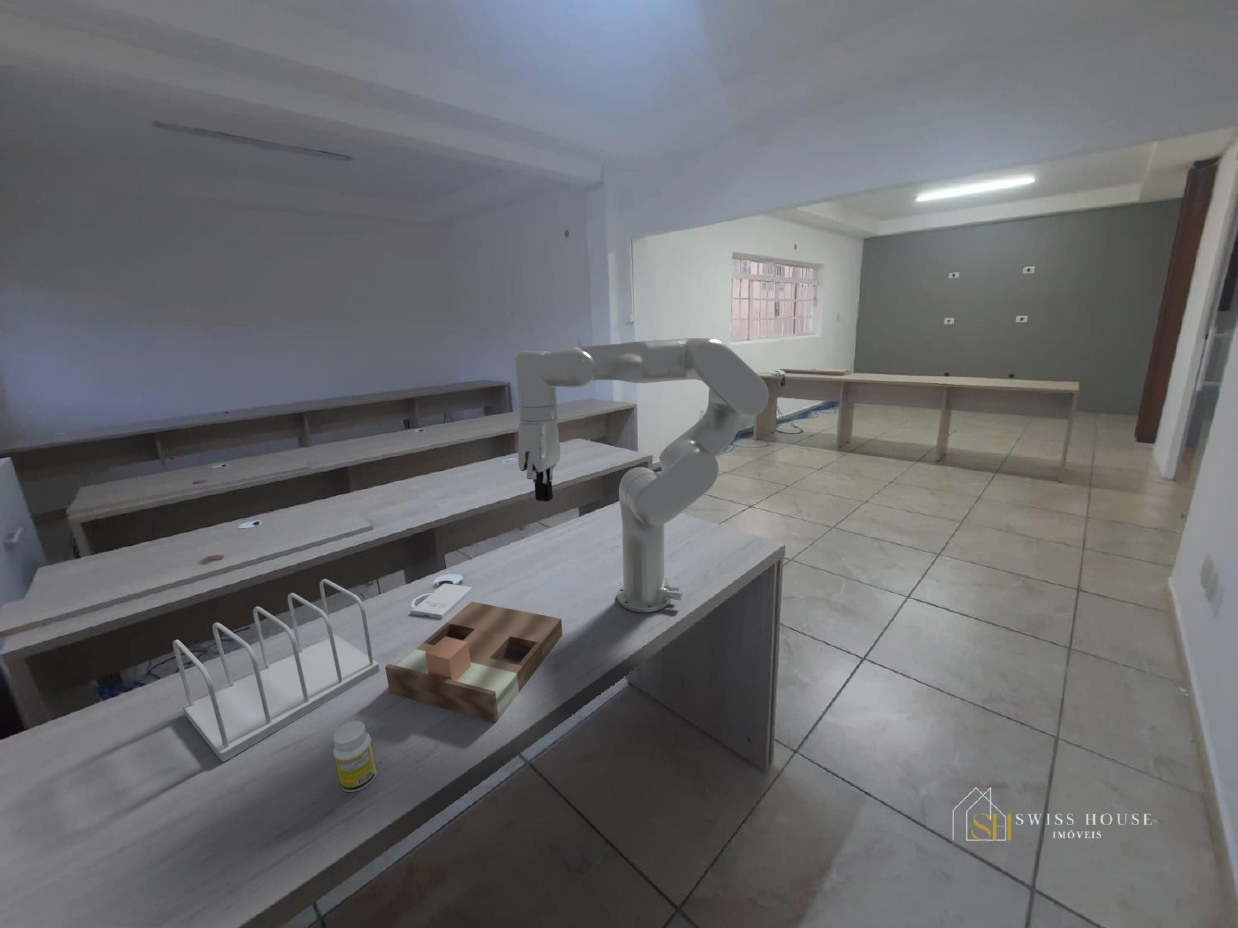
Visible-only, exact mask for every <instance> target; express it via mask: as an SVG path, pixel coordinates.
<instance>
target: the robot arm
mask: <svg viewBox="0 0 1238 928" xmlns="http://www.w3.org/2000/svg"><path fill="white" fill-rule="evenodd" d="M514 361H515V362H514V363H515V375H516V376H515V377H516V386H517V387H516V388H517V401H518V402H517V403H518V412H519V413H518V414H519V425H518V433H517V455H518V456H517V457H518V469H519V470H520V471H521V472H525V471H526V479H527V480H532V482H533V484H534V495H535V497H534V498H535V500H536V501H539V502H550V501H551V500H553V498H554V496H553V495H554V494H553V478H554V477H553V475H554V473H553V472H554V469H555V468H556V466H557V464H558V462H559V461H560V458H561V446H560V445H561V444H560V435H559V427H558V423H557V421H558V407H557V406H558V404H557V389H556V388H558V387H560V388H569V389H570V388H571V389H579V388H583V387H585V386H586V387H587V385H589V384H590V383H591V382H592V381H595V382H596V381H621V382H622V381H623V382H626V383H633V384H651V383H658V382H659V383H660V382H674V381H675V382H676V381H685V380H686V381H687V380H697V381H701V382H703V384H705V386H707V387H708V402H707V408H706V410H705V412H704V414H703V416H702V417H701V418H700V419H699V420H698V421H697V422H696V423H695V424H694V425H692V426H691V427H690V428H689V429H688V430H686V431H685V432H684V433H683V434H681V435H680V436H679V437H677V438H676V439H675V440H673V441H672V442H670V443H669V444H668V445H667V446H666V447H664V449H663V450H662V452H661V454H660V456H659V465H660V468H661V470H662V472H661V473H660V474H658V473H657V472H655V471H654V470H652V469H650V468H648V467H644V466H637V467H633V468H631V469H629V470H627V472H625V473H624V474H623V476H622V477H621V480H620V482H619V487H618V495H619V496H618V499H619V507H620V515H621V530H622V531H621V532H622V570H623V571H622V575H623V577H622V578H623V583H622V584H623V586H621V587H620V588H619V589H618V590H617V593H616V597H617V598H616V599H617V602H618V604H619V605H620V606H621V607H623V608H624V609H626V610H628V611H632V612H636V613H654V612H656V611H657V612H658V611H660V610H662V609H664V608H666V607H667V606H668V605H669V604H670V602H671V599H672V600H676V601H681V602H682V600H683V592H682V591H680V586H674V585H673V586H672V585H670V584H668V583H669V582H668V579H669V578H666V577H665V524H667V523H669V522H670V521H672V520H673V519H675V518H676V517H677V516H679V515H680V514H682V512H684V511H685V510H686V509H688V508H689V507H690V506H691V505H692V504H694V503H696V502H697V501H698V500H700V498H702V497H703V496H704V495H705V494H706V493H707V492H709V490H710V489H711V488H712V487H713V485H714V484H715V483H716V481H717V479H718V476H719V463H718V460H717V457H718V456H719V455H720V454H721V453H722V452H723V451H724V450H726V449H727V448H728V447H729V446H730V444H731V443H732V442H733V441H734V440H735V437H736V435H737V432H738V429H739V426H740V421H741V417H742V418H750V417H752V418H753V417H755V416H757V415H759V414H761V413H762V412H763V411H764V410H765V408H766V407H767V405H768V402H769V398H770V396H769V395H770V393H769V388H768V386H767V384H766V382H765V380H763V378H762V377H761V376H759V374H758V373H757V372H755V370H754V369H752V367H750V366H749V365H748V364H747V363H746V362H745V361H743V359H742V358H741V357H740V356H739V355H737V354H736V353H735V352H734V350H732V349H731V348H730V347H729V346H727V345H726V344H725V343H724V342H722V341H720V340H718V339H714V338H702V337H689V338H673V339H671V338H670V339H656V340H655V339H654V340H639V341H629V342H622V343H614V344H611V343H610V344H599V345H598V344H596V345H582V346H579V345H578V346H567V347H566V346H565V347H564V348H561V349H559V350H558V351H554V352H553V351H552V352H551V351H548V350H543V349H542V350H538V349H537V350H524V351H520V352H518V353H517V354H516V355H515V359H514Z"/></svg>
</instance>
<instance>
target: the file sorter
mask: <svg viewBox="0 0 1238 928" xmlns="http://www.w3.org/2000/svg"><path fill="white" fill-rule="evenodd" d="M324 584H327V585H328V586H330V587H331V588H334V589H335V590H337V591H338V592H339V591H340V592H341V593H343V594H345V595H346V596H348V597H351V598H352V599H353V600H355V601H356V603H357V604H358V607H359V609H360V613H361V619H362V620H361V621H362V624H363V625H362V626H363V631H364V638H365V645H366V650H367V652H366V653H367V654H366V653H364V652H362V651H361V650H359V649H358V648H357V647H355V646H354V645H352V644H350V643H349V642H347V641H346V640H345V639H343V638H341V637H340V636H339V635H337V634H336V633H334V632H333V626H332V624H331V622H330V621H331V620H330V616H329V611H328V605H327V600H326V599H327V598H326V594H325V588H324ZM319 592H320V596H321V603H322V607H323V609H321V608H319V607H318V606H316V605H314V604H313V603H311V602H310V601H308V600H306V599H305V598H303V597H301V596H300V595H298V594H296V593H294V592H291V593H289V594H288V595H287V604H288V608H289V614H290V618H291V623H292V626H293V631H292V630H291V628H290V627H289V626H288V625H287V624H285V623H284V622H283V621H281V620H280V619H279V618H277V617H276V616H274V615H273V614H271V613H270V612H268V611H267V610H265V609H264V608H262V607H260V606H255V607H254V608H253V609H252V614H253V615H252V616H253V620H254V624H255V625H254V626H255V628H256V633H257V637H258V641H259V642H258V643H259V645H260V651H261V654H262V658H263V661H264V666H261V667H259V663H258V659H257V656H256V654H255V652H254V650H253V648H252V647H251V646H250V645H249V644H248V642H246V641H245V640H243V638H241V637H240V636H238V635H237V634H235V633H234V632H232V630H230V629H228V628H227V627H226V626H225V625H223V624H222V623H220V622H214V623H213V624H212V633H213V637H214V639H215V640H214V641H215V643H216V646H217V649H218V653H219V656H220V660H221V662H222V666H223V669H224V673H225V677H226V679H227V682H228V683H227V684H225V685H223V686H221V687H219V688H217V689H215V688H214V684H213V682H212V679H211V676H210V674H209V672H208V670H207V669H206V667H205V665H203V663H202V662H201V661H200V660H199V659H198V658H197V657H196V656H195V655H194V654H193V653H192V652H191V651H190V649H188V647H186V645H184V643H182V641H180V640H179V639H176V640H173V641H172V648H173V652H174V655H175V660H176V663H177V667H178V669H179V671H178V672H179V673H180V676H181V677H180V678H181V681H182V683H183V688H184V691H185V695H186V699H187V702H188V703H186V704H184V705H183V706H182V709H183V712H184V713H183V714H184V716H185V717H186V718H187V719H188V721H189V723H191V724H192V726H193V727H194V728H195V730H196V731H197V732H198V733H199V735H200V736H201V737H202V738H203V739H204V740H205V742H206V744H208V746H209V747H210V748H211V749H212V751H213V752H214V754H216V756H217V757H218V759H219V760H220V761H221V762H222V763H223V762H226V761H228V760H230V759H232V758H233V757H235V756H237V755H238V754H240V753H242V752H243V751H245V750H247V749H249V748H250V747H252V746H254V745H256V744H257V743H259V742H260V741H262V740H264V739H266V738H267V737H269V736H271V735H272V734H274V733H276V732H278V731H279V730H281V729H282V728H284V727H286V726H288V725H290V724H291V723H293V722H295V721H297V720H298V719H300V718H301V717H303V716H305V715H307V714H309V713H310V712H312V711H314V710H316V709H317V708H319V707H320V706H322V705H324V704H326V703H328V702H329V701H331V700H332V699H334V698H336V697H337V696H339V695H341V694H342V693H344V692H346V691H348V690H349V689H351V688H353V687H355V686H356V685H358V684H360V683H361V682H363V681H365V680H366V679H368V678H370V677H371V676H373V675H374V674H376V673H378V672H380V669H381V668H380V664H379V662H378V661H376V660H374V659H373V652H372V646H371V640H370V633H369V626H368V620H367V613H366V609H365V606H364V603H363V601H362V600H361V598H360V597H359V596H358V595H356V594H354V593H353V592H351V591H349V590H347V589H345V588H343V587H342V586H340V585H338V584H337V583H334V582H332V581H331V580H329V579H327V578H323V579H321V580H320V582H319ZM292 598H293V599H294V600H297V602H300V603H301V604H303V605H304V606H305V607H308V608H309V609H311V610H312V611H314V612H315V613H318V614H319V615H320V616H321V617H322V618H323V620H324V623H325V625H326V629H327V634H328V635H326V636H324V637H322V638H320V639H318V640H316V641H314V642H312V643H310V644H308V645H305V646H304V647H302V646H303V645H302V643H301V639H300V634H299V629H298V624H297V618H296V616H295V610H294V605H293V600H292ZM258 613H260V614H261V615H263V616H265V617H266V618H268V619H269V620H270V621H272V622H273V623H275V624H276V625H277V626H279V627H280V628H282V629H283V630H284V631H285V632H286V633H287V636H288V638H289V640H290V643H291V647H292V652H291V653H289V654H287V655H285V656H283V657H281V658H278V659H277V660H274V661H272V662H270V663H269V659H268V654H267V651H266V650H267V649H266V645H265V641H264V637H263V632H262V629H261V625H260V619H259V615H258ZM218 629H219V630H218ZM219 631H221V632H223V633H224V634H225V635H227V636H228V637H230V638H231V639H232V640H234V641H235V642H236V643H238V644H239V645H240V646H242V647H243V648H244V649H245V650H246V652H247V653H248V655H249V658H250V660H251V663H252V666H253V670H254V671H252V672H250V673H247V674H246V675H243V676H242V677H240V678H237V679H236V680H233V678H232V675H231V672H230V669H229V665H228V660H227V657H226V655H225V652H224V648H223V645H222V640H221V637H220V634H219ZM293 632H294V633H293ZM180 651H181V652H182V653H183V654H184V655H185V656H186V657H187V658H188V659H189V660H190V661H191V663H193V665H194V666H196V668H197V669H199V671H200V672H201V674H202V676H203V678H204V681H205V683H206V686H207V689H208V693H207V694H205V695H202V696H201V697H199V698H196V699H194V700H193V697H192V692H191V688H190V685H189V682H188V677H187V674H186V670H185V667H184V663H183V660H182V656H181V653H180Z"/></svg>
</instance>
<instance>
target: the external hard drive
mask: <svg viewBox="0 0 1238 928" xmlns="http://www.w3.org/2000/svg"><path fill="white" fill-rule="evenodd" d="M472 592H473V587H471V586H465V585H459V584H451V583H443V584H442V585H440V586H439V587H438V588H437V589H435V591H433V592H432V593H430V594H429V595H428V596H427V597H426V598H424V600H422V601H421V602H420V603H418V604H417V605H416V606H415V607H414V608H413V609H411V610H410V614H411V615H414V616H415V615H416V616H419V617H422V616H423V617H429V618H434V619H440V620H442V619H444V618H445V617H446V616H447V615H448V614H449V613H451V611H453V610H454V609H455V607H457V606H458V605H459V604H460V603H462V602H463V600H464V599H465V598H467V597H468V596H469V595H470V594H471V593H472Z"/></svg>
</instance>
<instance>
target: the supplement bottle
mask: <svg viewBox="0 0 1238 928" xmlns="http://www.w3.org/2000/svg"><path fill="white" fill-rule="evenodd" d="M332 739H333V746H334V748H333V758H334V759H333V760H334V763H335V765H336V766H335V767H336V772H337V774H338V778H339V779H338V780H339V782H340V787H341V789H342V790H343V791H344V792H347V793H348V792H349V793H354V792H355V793H356V792H359V791H361V790H364V789H366V787H368V786H369V785H370V784H372V782H373V781H374V780H375V778H376V776H377V774H378V767H377V762H376V758H375V757H376V756H375V753H374V749H373V743H372V737H371V735H370V734H369V732H367V729H366V724H365V723H364V722H362V721H361V720H360V721H359V720H354V721H349V722H346V723H345V724H343V725H341V726H340V727H338V728H337V729H336V730H335V732H334V733H333V736H332Z"/></svg>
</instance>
